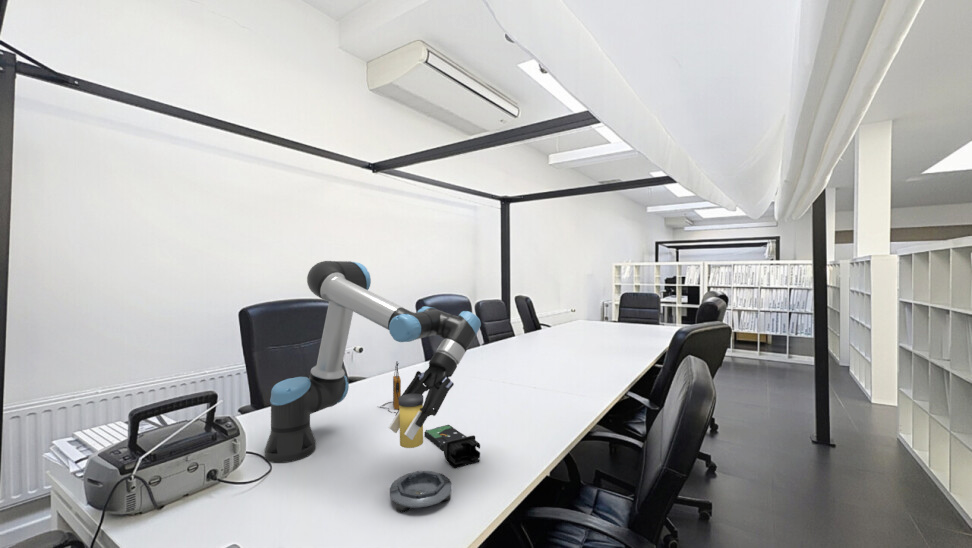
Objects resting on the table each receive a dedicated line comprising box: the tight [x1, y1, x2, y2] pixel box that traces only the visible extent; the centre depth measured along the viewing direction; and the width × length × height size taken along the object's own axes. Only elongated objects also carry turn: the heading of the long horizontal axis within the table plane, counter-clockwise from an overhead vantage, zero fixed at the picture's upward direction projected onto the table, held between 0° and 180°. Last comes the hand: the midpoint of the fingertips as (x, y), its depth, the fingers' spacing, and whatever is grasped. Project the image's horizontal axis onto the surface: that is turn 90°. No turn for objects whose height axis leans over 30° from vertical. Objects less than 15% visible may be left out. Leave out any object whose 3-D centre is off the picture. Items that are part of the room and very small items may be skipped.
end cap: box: [442, 434, 481, 470], centre depth 124 cm, size 10×7×7 cm
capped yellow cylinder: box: [398, 393, 424, 449], centre depth 103 cm, size 6×6×12 cm
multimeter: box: [376, 361, 402, 414], centre depth 173 cm, size 15×10×20 cm
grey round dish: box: [389, 470, 452, 513], centre depth 104 cm, size 16×16×4 cm
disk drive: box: [423, 424, 468, 452], centre depth 140 cm, size 10×3×15 cm
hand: (400, 433), depth 100 cm, fingers closed on capped yellow cylinder, 6 cm apart
